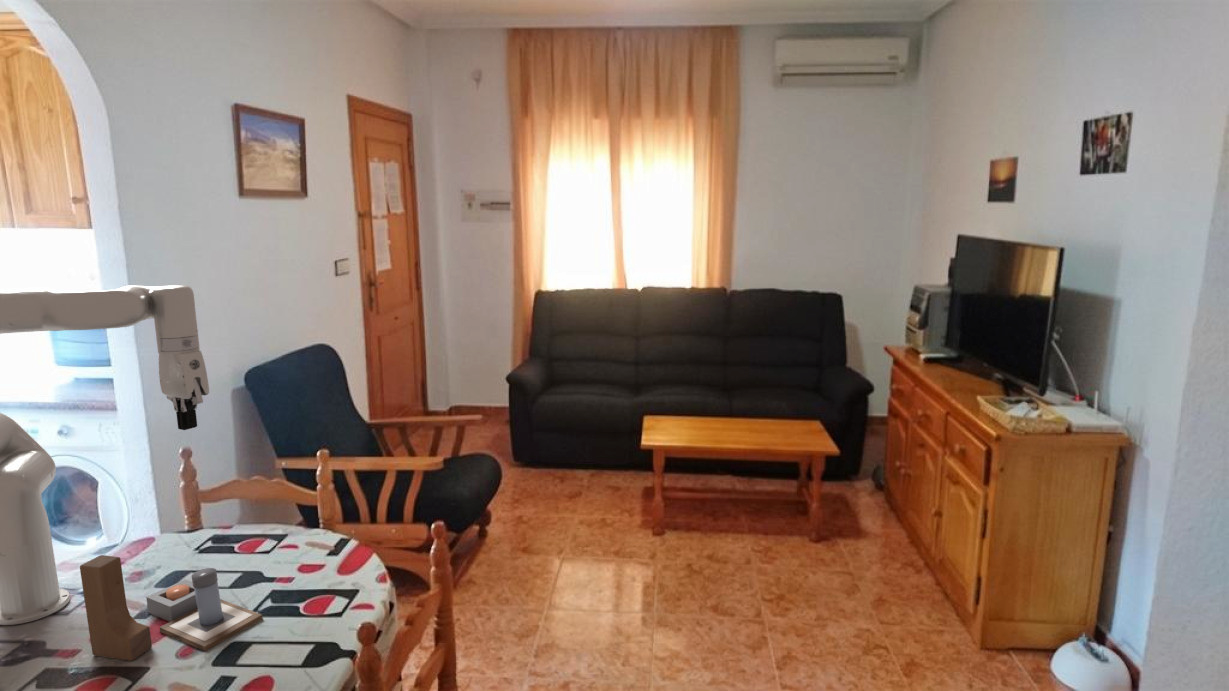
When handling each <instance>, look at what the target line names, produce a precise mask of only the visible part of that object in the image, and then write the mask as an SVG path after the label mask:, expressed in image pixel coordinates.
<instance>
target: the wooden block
mask: <svg viewBox="0 0 1229 691" xmlns="http://www.w3.org/2000/svg"><path fill="white" fill-rule="evenodd" d="M79 570H80V571H79V572H80V578H81V585H82V586H81V587H82V592H83V593H82V594H83V599H84V605H85V612H86V619H87V624H88V634H89V640H90V648H91V653H92V655H93V656H95V657H102V658H111V659H117V660H122V661H123V660H124V661H128V662H129V661H130V662H133V661H135V660H136V659H137V658H139V657H140V656H142V655H143V654H145V653H146V652H147V651H149V650H151V648H152V647H153V646H152V644H153V643H152V637H151V629H150V627H149V625H146V624H142V623H140V622H138V621H136V619H135V618H133V617H132V615H131V613H130V611H129V608H128V604H127V598H126V591H125V590H126V589H125V583H124V576H123V569H122V560H121V557H119V556H113V555H112V556H111V555H105V554H104V555H103V554H101V555H100V554H99V555H98V556H97V557H95V558H92V559H91V560H89V561H87V562H84V563H82V564H80V566H79Z"/></svg>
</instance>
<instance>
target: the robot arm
mask: <svg viewBox="0 0 1229 691" xmlns="http://www.w3.org/2000/svg"><path fill="white" fill-rule="evenodd" d="M150 319H151V320H152V319H153V320H154V328H155V339H156V346H157V353H158V375H159V376H158V377H159V385H160V389H161V393H162V394H163V395H165V396H166V399H167V400H169V401H171V402H172V405H173V410H174V411H175V412H176V421H177V429H178V430H182V431H186V430H191V429H194V428H196V427H198V420H197V412H196V411H197V408H198V405H200V404H203V403H204V398H203V396H207V395H209V393H210V386H209V378H208V373H207V368H206V363H205V359H204V356H203V353H202V350H201V349H200V348H201V347H200V341H199V331H198V330H199V329H198V322H197V314H196V304H195V295H194V290H193V289H192V288H191V287H190V286H189V285H184V284H183V285H182V284H181V285H180V284H179V285H178V284H174V285H171V284H170V285H161V286H148V285H146V286H145V285H136V284H135V285H134V284H133V285H131V284H130V285H129V284H128V285H125V286H124V285H123V286H121V287H119V288H116V289H108V290H89V291H88V290H87V291H63V290H62V291H61V290H55V289H53V288H50V287H28V288H13V289H12V288H11V289H0V335H2V334H12V333H14V334H15V333H33V332H51V331H52V332H61V331H62V332H63V331H90V330H91V331H94V330H106V329H107V330H108V329H121V328H127V327H128V328H129V327H131V326H134V325H137V324H139V323H140V322H142V321H145V320H150ZM56 468H57V467H56V463H55V461H54V459H53V457H52V456H51V455H50V454H49V453H48V451H47V450H45V449H44V448H43V447H42V445H40V443H38V442H37V440H35V438H33V436H31V435H30V434H29V433H28V432H27V431H26V430H25V429H24V428H23V427H22V426H21V425H20V424H19V423H17V421H15V420H14V419H12V418H11V417H9V416H8V415H7V414H4V413H2V412H0V626H13V625H15V626H16V625H20V624H25V623H26V624H27V623H30V622H31V623H32V622H33V621H38V620H40V619H43V618H46V617H48V616H50V615H53V614H54V613H56V612H58V611H60V610H61V609H63V608H64V607H65V606H66V605H67V604H68V603H69V602H70V600H71V595H70V592H69V591H68V590H67V589H65V588H60V585H59V578H58V571H57V566H56V565H57V564H56V558H55V553H54V545H53V539H52V532H51V527H50V521H49V517H48V513H47V511H46V508H45V505H44V504H43V501H42V500H43V499H42V493H43V492H44V491H45V490H46V489H47V488H48V486H49V485H50V484H51V483H52V482H53V481H54V479H55V477H56V473H57V469H56Z"/></svg>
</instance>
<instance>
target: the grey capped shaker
mask: <svg viewBox="0 0 1229 691" xmlns="http://www.w3.org/2000/svg"><path fill="white" fill-rule="evenodd" d="M217 574H218V573H217V569H216V568H215V567H206V568H202V569H199V570H197V571H195V572H193V573H192V574H191V582H193V587H194V591H195V597H196V602H197V608H198V614H199V620H200V624H201V625H203V626H207V625H212V624H215V623H217V622H219V621H220V620H221V619H222V618H223V613H222V607H221V601H220V599H221V596H220V591H219V590H220V588H219V585H218V579H219V578H218V575H217Z"/></svg>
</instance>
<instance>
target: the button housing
mask: <svg viewBox="0 0 1229 691" xmlns="http://www.w3.org/2000/svg"><path fill="white" fill-rule="evenodd" d="M177 585H188V586H189V592H190V594H187V595H185V596H183V597H181V598H179V599H177V600H175V601H171V600H169V599H167V595H166V591H167V590H168V589H169V588H171V587H173V586H177ZM146 605H147V612H148V614H151V615H152V616H155V617H157V618H160V619H163V620H164V621H168V623H169V622H171V621H173V620H175V619H177V618H179V617H181V616H183V615H185V614H187V613H189V612H191V611H193V610H195V609H197V602H196V597H195V591H194V587H193V582H192V580H187V579H183V580H180V581H179V582H176V583H173V585H172V584H171V585H170V586H167V587H166V588H163V589H161V590H159V591H156V592H154V593H153V594H150V595H148V596H146Z"/></svg>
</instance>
